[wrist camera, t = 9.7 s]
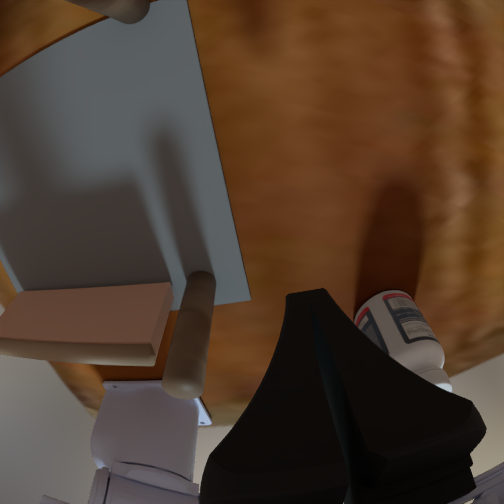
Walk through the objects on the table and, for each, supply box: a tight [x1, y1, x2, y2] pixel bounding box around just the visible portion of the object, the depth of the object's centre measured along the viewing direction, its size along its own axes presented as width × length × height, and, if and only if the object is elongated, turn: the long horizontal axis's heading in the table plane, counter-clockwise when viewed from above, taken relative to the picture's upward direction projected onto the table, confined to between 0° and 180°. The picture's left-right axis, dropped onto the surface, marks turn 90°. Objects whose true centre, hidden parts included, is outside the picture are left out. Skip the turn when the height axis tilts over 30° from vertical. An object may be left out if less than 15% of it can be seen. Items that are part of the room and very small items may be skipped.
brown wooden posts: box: [65, 0, 217, 400], centre depth 13 cm, size 2×20×9 cm, turn 10°
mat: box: [0, 0, 251, 311], centre depth 18 cm, size 20×20×1 cm
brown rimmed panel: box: [0, 282, 174, 366], centre depth 18 cm, size 14×1×7 cm, turn 96°
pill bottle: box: [354, 290, 452, 392], centre depth 20 cm, size 5×5×9 cm
